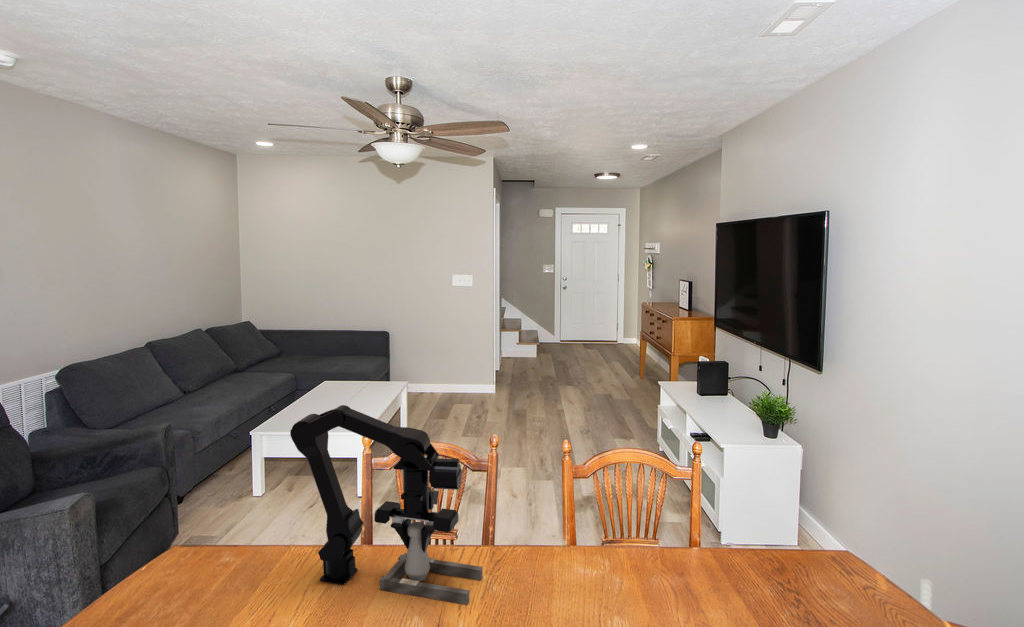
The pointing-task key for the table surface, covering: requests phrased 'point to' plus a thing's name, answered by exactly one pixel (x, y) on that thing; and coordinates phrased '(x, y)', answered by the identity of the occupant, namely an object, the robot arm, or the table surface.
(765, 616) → the table surface
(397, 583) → the guide rails
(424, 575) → the salt shaker
